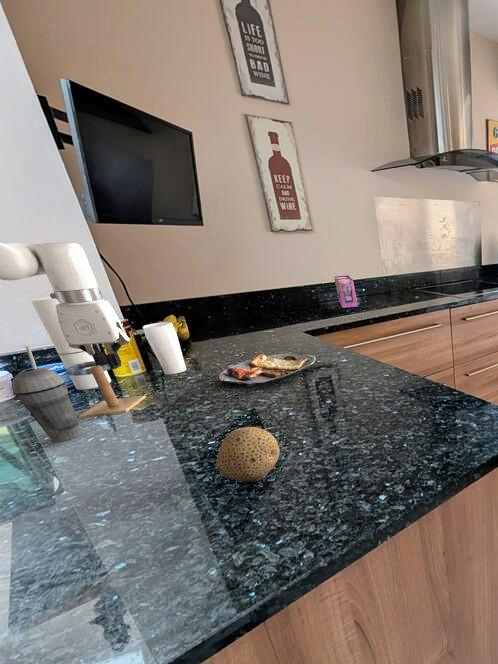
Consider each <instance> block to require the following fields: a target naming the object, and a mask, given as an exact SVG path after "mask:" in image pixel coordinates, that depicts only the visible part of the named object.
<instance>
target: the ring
mask: <svg viewBox="0 0 498 664" xmlns="http://www.w3.org/2000/svg"><path fill="white" fill-rule="evenodd" d="M93 366H97V365H96V363H95V361H90V362H85V363H81V364H77V365H74V366H71V367H69V368H67V369H66V368H65V374H66V375H68V376H69V375H73V376H80V375H89V374H92V372H91V370H90V369H84V368H88V367H93ZM102 368H103V371H110V370H112V369H111V367H110V365H109V363H108V364H106V365H103V366H102ZM80 369H83V370H80Z"/></svg>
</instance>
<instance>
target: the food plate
mask: <svg viewBox="0 0 498 664" xmlns="http://www.w3.org/2000/svg"><path fill="white" fill-rule="evenodd" d="M316 358H317V357H316V356H314V355H312V354H309V353H307V352H289V353H288V352H286V353H285V352H284V353H277V354H275V353H274V354H272V355H265V354H263V353H258V354H257V355H256V356H254V357H253V358H250V359H247V360H245V361H241V362H238V363H235V364H233V365H230V366H228V367H226V368H224V370H222V371H220V372H219V373H218V374H217V379H218V381H221V382H223V381H224V382H227V383H231V384H233V383H234V384H237V385H239V386H240V385H252V384H260V383H261V384H262V383H266V382H272V381H275V380H279V379H282V378H286V377H288V376H290V375H292V374H295V373H297V372H300V371H302V370H304V369H306V368H308V367H309V366H311V365H313V364H314V363H315V361H316Z"/></svg>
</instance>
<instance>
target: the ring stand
mask: <svg viewBox="0 0 498 664" xmlns="http://www.w3.org/2000/svg"><path fill="white" fill-rule="evenodd" d="M90 370H91V372H92V375H93V377H94V379H95V381H96V383H97V385H98V387H97V388H98V389H99V391H100V393H101V395H102V397H103V400H101V401H100V402H98V403H96V404H95V405H94V406H92V407H91V408H89V409H88V410H86V411H85V412H83V413H82V414H80V415H79V416H78V419H85V418H93V417H100V416H109V415H116V414H123V413H127V412H129V411H130V410H131V409H133V408H134V407H136V406H137V405H138V404H140V403H141V402H143V400H145V399H146V398H147V396H146V395H138V396H137V395H136V396H129V397H121V398H117V396H116V394H115V391H114V390H113V387H112V386H111V382H110V383H109V381H108V379H107V377H106V375H105V373H104V371H103V368H102V366H93V367H91V368H90Z"/></svg>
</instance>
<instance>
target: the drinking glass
mask: <svg viewBox="0 0 498 664" xmlns="http://www.w3.org/2000/svg"><path fill="white" fill-rule="evenodd" d="M142 330H143V332H144V335H145V338H146V340H147V343H148V344H149V346H150V348H151V350H152V352H153V353H154V355H155V357H156V359H157V361H158V363H159V365H160V367H161V369H162V371H163V373H164V374H165V375H174V374H179V373H183V372H185V371H187V366H186V363H185V360H184V359H185V358H184V356H183V352H182V349H181V344H180V341H179V337H178V334H177V332H176V329H175V327H174V324H173V322H171V321H164V322H155V323H150V324H146V325H143V326H142Z"/></svg>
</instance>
